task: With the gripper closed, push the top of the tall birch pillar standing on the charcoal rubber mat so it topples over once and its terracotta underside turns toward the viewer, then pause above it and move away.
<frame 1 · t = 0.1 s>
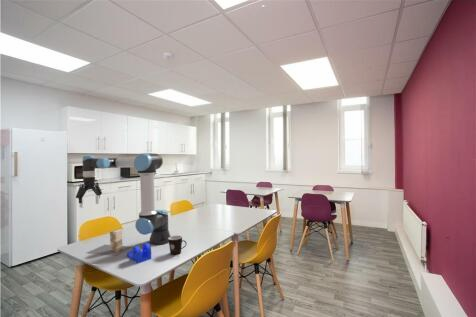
hand: (89, 205, 173), 28 cm above the table, tool pointing down, fingers open, 13 cm apart
birch pillar: (116, 250, 157), point 1 cm above the table, touching charcoal mat
charcoal mat: (110, 250, 158), on the table
coffee mug: (177, 254, 149), on the table
bracket: (137, 257, 146), on the table
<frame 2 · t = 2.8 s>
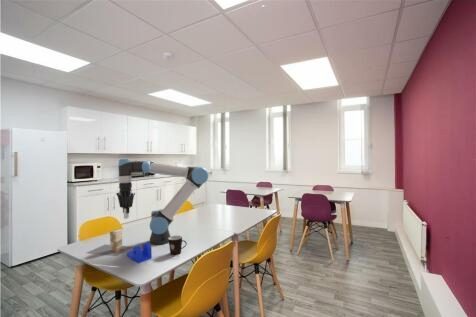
hand: (126, 218, 155), 22 cm above the table, tool pointing down, fingers closed
nothing on the table moved.
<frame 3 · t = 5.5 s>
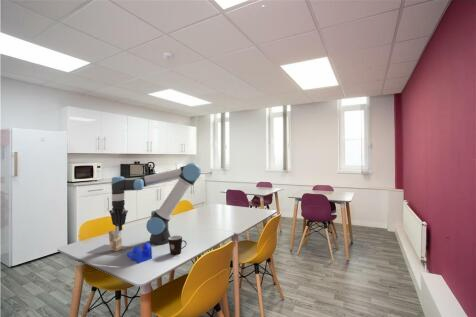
hand: (118, 235, 156), 11 cm above the table, tool pointing down, fingers closed
birch pillar: (116, 249, 157), point 1 cm above the table, touching charcoal mat, gripper
everything else where it was.
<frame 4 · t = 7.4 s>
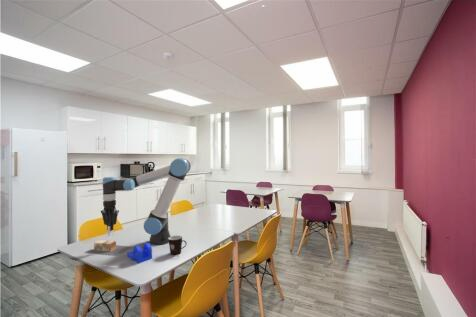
hand: (110, 235, 158), 10 cm above the table, tool pointing down, fingers closed
birch pillar: (113, 246, 158), point 3 cm above the table, tilted 90°, touching charcoal mat
everything else where it was.
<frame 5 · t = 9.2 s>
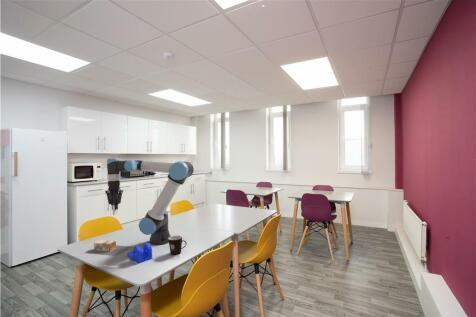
hand: (115, 214, 164), 23 cm above the table, tool pointing down, fingers closed
nothing on the table moved.
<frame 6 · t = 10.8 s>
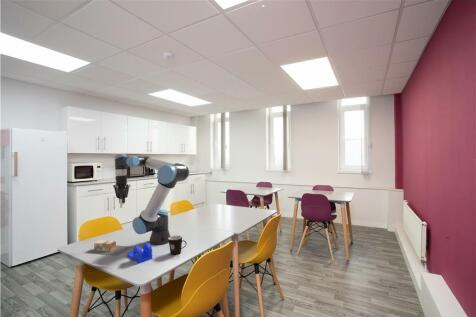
hand: (122, 207, 172), 26 cm above the table, tool pointing down, fingers closed
nothing on the table moved.
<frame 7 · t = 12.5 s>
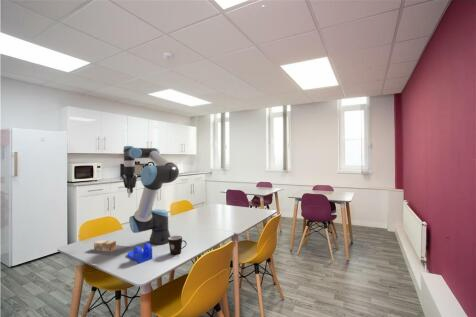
hand: (130, 197, 180), 32 cm above the table, tool pointing down, fingers closed
nothing on the table moved.
at the end: birch pillar tilted 90°; birch pillar inside the target area (0.9 cm from its centre), point 3.1 cm above the table; birch pillar touching charcoal mat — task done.
